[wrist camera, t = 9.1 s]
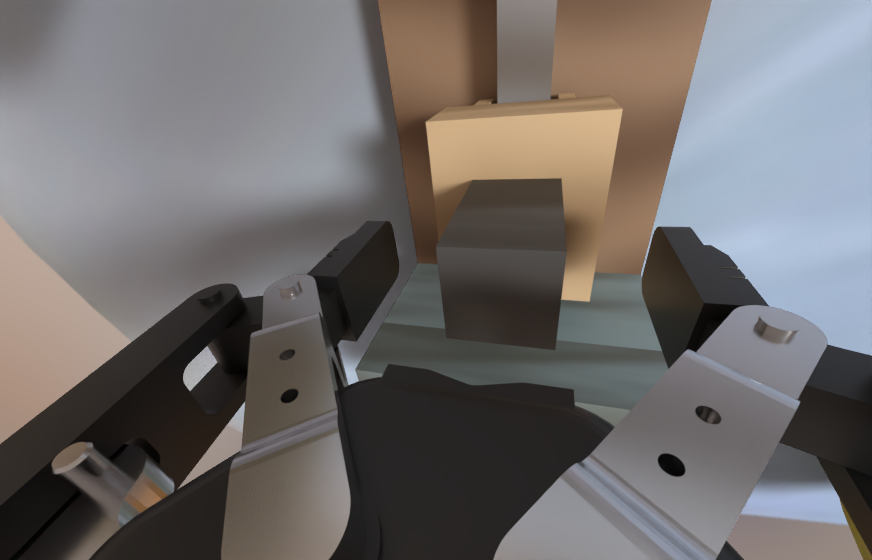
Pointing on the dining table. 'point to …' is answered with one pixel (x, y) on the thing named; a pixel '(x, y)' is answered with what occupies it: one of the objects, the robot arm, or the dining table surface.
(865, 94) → the dining table surface
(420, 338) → the rail rig
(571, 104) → the carriage
